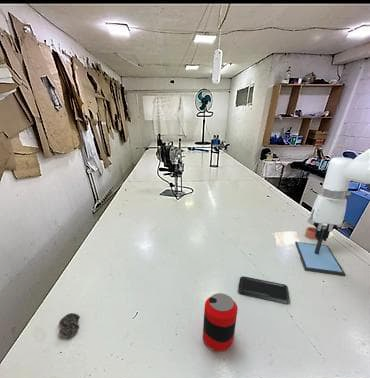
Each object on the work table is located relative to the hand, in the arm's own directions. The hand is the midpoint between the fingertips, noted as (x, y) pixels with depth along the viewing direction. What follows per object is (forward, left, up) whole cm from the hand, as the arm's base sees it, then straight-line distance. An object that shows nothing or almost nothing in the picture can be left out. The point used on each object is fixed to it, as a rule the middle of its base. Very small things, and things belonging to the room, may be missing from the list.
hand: (320, 238), depth 91 cm
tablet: (0, +2, -8) cm, 8 cm away
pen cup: (-2, -16, -8) cm, 18 cm away
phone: (+22, +27, -8) cm, 36 cm away
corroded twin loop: (+72, +54, -8) cm, 90 cm away
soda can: (+34, +48, -8) cm, 59 cm away
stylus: (0, 0, -7) cm, 7 cm away
